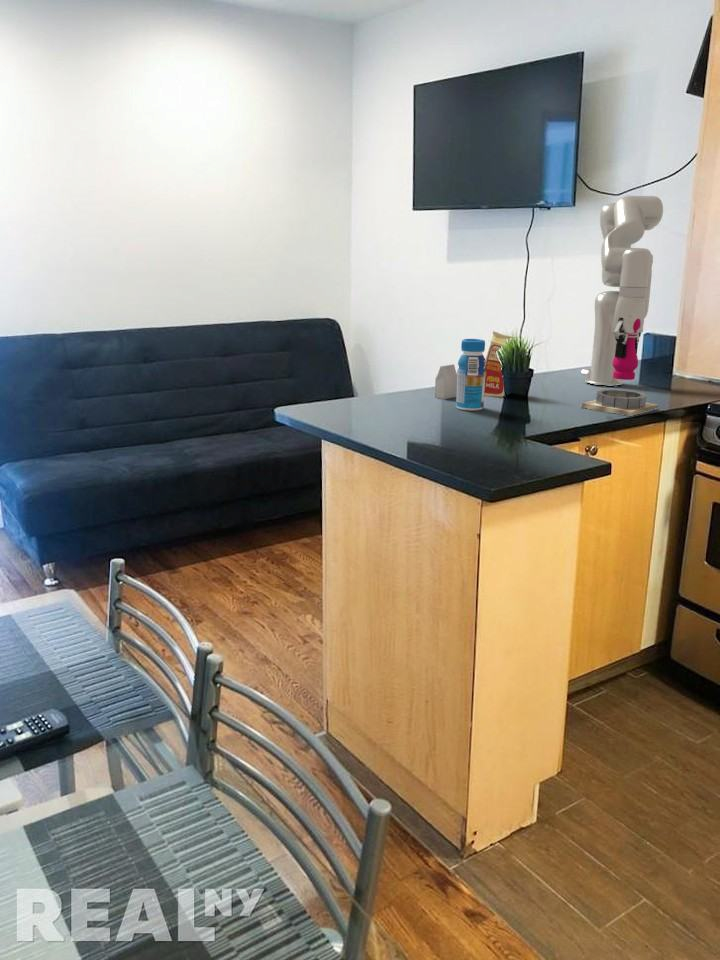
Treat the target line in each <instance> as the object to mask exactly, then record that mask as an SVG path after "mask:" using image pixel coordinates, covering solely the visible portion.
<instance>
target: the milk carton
mask: <svg viewBox="0 0 720 960" xmlns="http://www.w3.org/2000/svg"><path fill="white" fill-rule="evenodd" d="M510 338H514V339H515V338H516V337H515V336H512V335H511V336H510V335H506V334H503V333H499V332H497V331H494V330H493V331H492V337H491V341H490V345H489V347H488V350H487V355H486V356H485V357H486V358H485V360H486V366H485V370H486V377H485V390H484V397H495V398H496V397H497V398H498V397H499V398H504V397H503V396H504V383H503V377H502V370H501V364H500V362H499V360H498V358H497V354H496V351H497V350H499V349H500V348H501V346H502V345H503V343H504V341H505V340H506V339H510Z"/></svg>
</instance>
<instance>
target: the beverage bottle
mask: <svg viewBox="0 0 720 960" xmlns="http://www.w3.org/2000/svg"><path fill="white" fill-rule="evenodd" d="M460 347H461V352H463V353H462V354H461V355H460V357H459V359H458V362H457V365H458V368H457V371H456V373H457V396H456V397H455V398H456V399H455V407H456V409H458V410H462V411H471V412H472V411H473V412H474V411H480V410H483V409H484V407H485V396H484V390H485V377H486V370H485V366H486V358H485V356H484V353H485V351H486V348H485V347H486V340H484V339H479V338H463V339H461V346H460Z"/></svg>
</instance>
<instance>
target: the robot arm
mask: <svg viewBox="0 0 720 960" xmlns="http://www.w3.org/2000/svg"><path fill="white" fill-rule="evenodd" d="M663 213H664V206H663V202H662V200H661V198H659V197H658V196H655V195H626V196H623V197H621V198H618V200H616V202H612V203H611V202H610V203H606V204H605V205H603V206H602V208H601V210H600V214H599V224H600V225H599V226H600V231H601V234H602V239H603V242H602V245H601V252H600V254H601V257H600V259H601V260H600V261H601V267H602V269H601V280H602V284H603V285H605V286H606V287H612V288H619V290H607V291H603V292H599V293H598V294H597V296H596V297H595V299H594V335H593V343H592V344H593V346H592V355H591V356H592V357H591V364H590V365H591V366H590V369H585V368H583V369H581V373H580V374H581V376H586V378H585V379H584V380H585V381H584V383H585V382H587V383H590V384H595V385H616V384H621V383H622V384H623V383H624V382H623V380H622V379H615V378H613V371H615V368H614V367H613V365H612V362H613V358H614V356H615V357H618V358H626V351H627V344H626V341H627V337H628V334H631V333H634V330H633V325H634V322H635V320H636V319H640V321H641V326H640V328H639V329H638V330H637V332H636V333H638V334H637V337H636V339H635V350H636V354H637V355H638V344H639V342H640V337H641V335H642V333H643V331H644V324H645V318H646V317H647V315H648V312H649V305H650V295H651V286H652V285H651V284H652V275H653V274H652V273H653V269H652V267H653V263H654V255H653V254H652V252H651V251H650V250H649V249H648V248H645V247H644V248H643V247H641V248H640V247H631V246H632V245H634V244H636V243H638V242H639V241H640V240H641V239H642V238H643V237H644V234H645V231H651V230H653V229H654V228H656V226H659V224H660V222H661V220H662V218H663V215H664V214H663ZM622 331H624V332H625V333H621V332H622ZM622 335H623V336H624V338H623V336H622ZM587 383H586V384H587ZM590 384H589V385H590ZM595 385H594V386H595Z"/></svg>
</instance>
